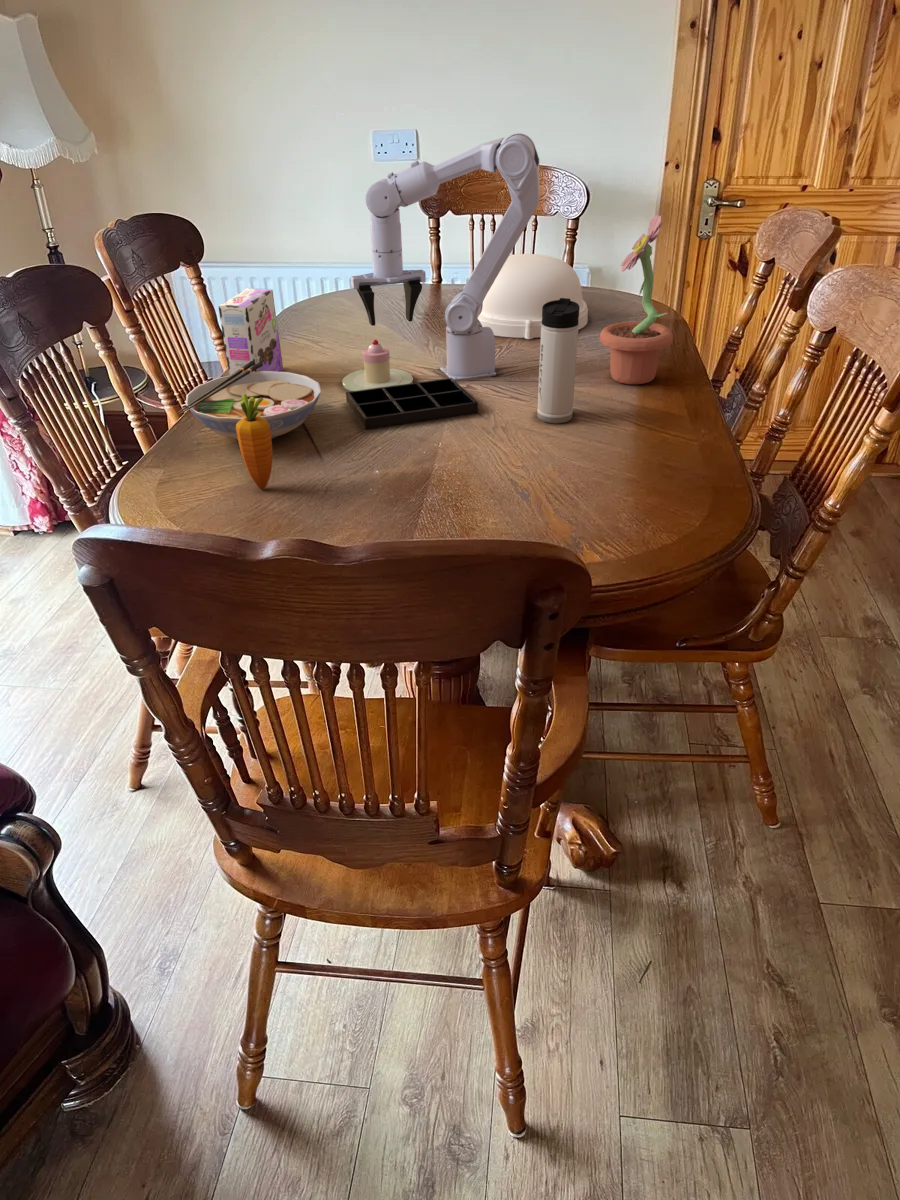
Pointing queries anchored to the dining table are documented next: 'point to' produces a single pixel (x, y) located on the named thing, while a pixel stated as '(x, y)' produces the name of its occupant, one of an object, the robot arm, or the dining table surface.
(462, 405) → the black compartment tray
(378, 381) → the cupcake
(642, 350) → the decorative flower
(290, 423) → the ramen bowl
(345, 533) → the dining table surface
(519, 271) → the dome cover
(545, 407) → the travel mug
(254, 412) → the carrot
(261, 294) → the candy box
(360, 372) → the plate
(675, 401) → the dining table surface
